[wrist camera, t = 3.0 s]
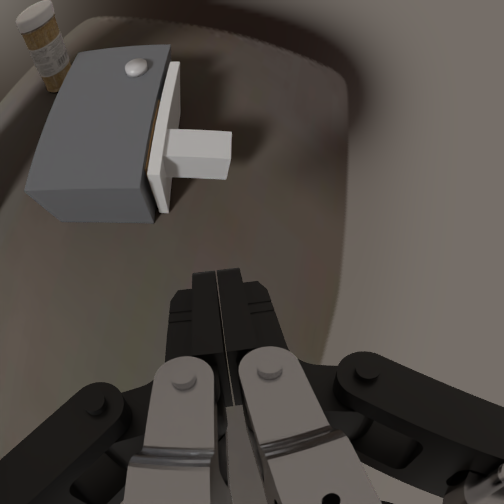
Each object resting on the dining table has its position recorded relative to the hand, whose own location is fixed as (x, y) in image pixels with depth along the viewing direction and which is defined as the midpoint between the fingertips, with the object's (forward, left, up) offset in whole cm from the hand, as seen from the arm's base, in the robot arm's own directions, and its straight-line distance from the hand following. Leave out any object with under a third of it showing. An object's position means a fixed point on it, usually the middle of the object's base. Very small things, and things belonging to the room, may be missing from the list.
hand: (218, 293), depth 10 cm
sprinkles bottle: (-22, +28, -17) cm, 39 cm away
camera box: (-10, +16, -17) cm, 25 cm away
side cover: (-2, +15, -17) cm, 22 cm away
